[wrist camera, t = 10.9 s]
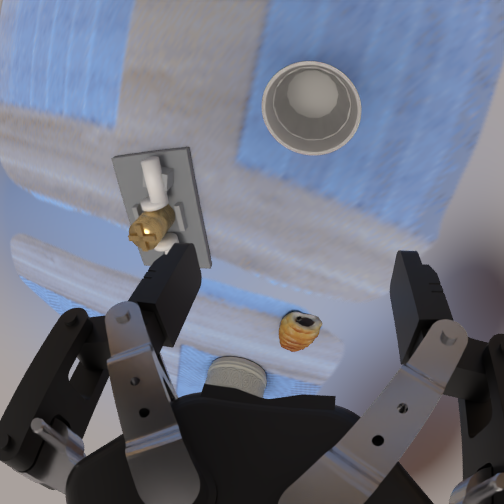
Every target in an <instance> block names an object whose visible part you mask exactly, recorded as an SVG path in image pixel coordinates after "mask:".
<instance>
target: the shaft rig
mask: <svg viewBox="0 0 504 504" xmlns="http://www.w3.org/2000/svg"><path fill="white" fill-rule="evenodd" d="M112 162H113V166H114V170H115V173H116V177H117V181H118V184H119V188H120V191H121V195H122V198H123V202H124V205H125V208H126V212H127V215H128V218H129V221H130V224H131V225H132V224H133V223H134V222H135V220H136V219H137V218H138V217H139V216H140V215H141V214H142V213H143V212H144V211H147V212H149V211H156V210H159V209H161V208H163V207H165V206H166V205H167V204H169V205H170V206H171V207H172V208H173V210H174V212H175V221H174V223H173V224H172V226H171V227H170V228H169V230H168V231H167V233H166V234H165V235H164V237H163V238H162V239H161V241H160V242H159V243H158V245H157V246H156V247H155V248H154V249H152V250H149V251H148V252H146V251H142V249H141V248H139V247H138V249H139V252H140V255H141V257H142V260H143V263H144V265H146V266H151V265H152V264H153V262H154V261H155V260H156V259H158V258H159V257H160V256H162V255H163V254H167V253H168V252H169V250H170V249H171V247H172V246H173V244H174V243H193V244H194V246H195V249H196V253H197V258H198V262H199V266H200V268H209V269H210V268H211V266H212V261H211V256H210V252H209V247H208V242H207V237H206V232H205V228H204V223H203V218H202V213H201V208H200V202H199V197H198V192H197V187H196V182H195V176H194V171H193V166H192V160H191V154H190V149H189V147H185V148H175V149H166V150H158V151H150V152H142V153H135V154H128V155H121V156H115V157H114V158H112Z"/></svg>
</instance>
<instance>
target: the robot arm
mask: <svg viewBox="0 0 504 504" xmlns="http://www.w3.org/2000/svg"><path fill="white" fill-rule="evenodd" d="M201 278H202V277H201V270H200V266H199V262H198V258H197V253H196V249H195V246H194V244H193V243H174V244H173V246H172V247H171V249H170V250H169V252H168V253H167V254H163V255H162V256H160V257H159V258H158V259H156V260H155V261H154V262H153V264H152V265H151V267H150V268H149V270H148V272H147V273H146V274H145V276H144V279H142V280H141V282H140V283H139V285H138V286H137V288H136V289H135V291H134V292H133V294H132V296H131V297H130V299H129V300H128V301H126V302H121V303H118V304H116V305H114V306H113V307H112V308H111V309H109V311H108V312H107V314H106V316H98V317H90V318H89V316H88V314H87V312H86V311H85V310H84V309H82V308H73V309H70V310H68V311H66V312H65V313H64V314H62V315H61V317H60V318H59V319H58V321H57V323H56V324H55V326H54V327H53V329H52V330H51V332H50V334H49V335H48V336H47V338H46V340H45V341H44V343H43V345H42V346H41V348H40V350H39V351H38V353H37V354H36V356H35V358H34V359H33V361H32V363H31V364H30V366H29V368H28V370H27V371H26V373H25V375H24V377H23V378H22V380H21V382H20V384H19V386H18V388H17V390H16V391H15V393H14V395H13V397H12V399H11V401H10V403H9V405H8V406H7V409H6V410H5V412H4V415H3V416H2V418H1V420H0V461H2V462H4V463H5V464H7V465H8V466H10V467H12V469H13V470H15V471H16V472H18V473H20V474H21V475H23V476H25V477H26V478H28V479H30V480H32V481H34V482H36V483H39V484H41V485H43V486H45V487H47V488H48V489H51V490H58V491H60V492H62V493H64V494H66V502H67V504H433V502H432V501H431V500H430V499H429V498H428V496H427V495H426V494H425V493H424V492H423V491H422V489H421V488H420V487H419V486H418V485H417V483H416V482H415V481H414V480H413V478H412V477H411V476H410V475H409V474H408V472H407V471H406V470H405V469H404V468H403V466H402V465H401V464H400V463H399V462H398V460H399V459H400V458H401V456H402V455H403V453H404V452H405V451H406V450H407V448H408V447H409V445H410V444H411V442H412V441H413V440H414V438H415V437H416V435H417V434H418V432H419V431H420V429H421V428H422V426H423V425H424V423H425V422H426V420H427V419H428V417H429V415H430V414H431V412H432V411H433V409H434V407H435V406H436V404H437V402H438V401H439V399H440V397H441V396H442V394H444V395H448V396H452V397H457V398H458V402H459V412H460V423H461V436H462V454H463V455H462V456H463V481H462V482H460V483H459V484H458V485H457V486H456V487H455V488H454V490H453V492H452V493H451V496H450V500H449V504H504V334H497V335H494V336H493V337H492V338H491V339H490V341H489V343H487V342H483V341H479V340H475V339H472V338H469V337H468V336H467V333H466V331H465V329H464V328H463V327H462V326H461V325H460V324H459V323H457V322H455V321H453V318H452V315H451V312H450V309H449V306H448V303H447V300H446V297H445V294H444V293H443V289H442V286H441V285H440V281H439V278H438V275H437V273H436V272H435V271H434V270H433V269H432V268H431V267H430V266H429V265H422V263H421V260H420V257H419V255H418V252H417V251H398V252H397V255H396V260H395V265H394V269H393V274H392V279H391V284H390V299H391V304H392V309H393V315H394V320H395V327H396V333H397V339H398V347H399V354H400V361H401V364H403V365H402V367H401V368H400V369H399V370H398V372H397V373H396V374H395V376H394V377H393V378H392V380H391V381H390V382H389V384H388V385H387V386H386V388H385V389H384V390H383V391H382V393H381V394H380V395H379V397H378V398H377V399H376V400H375V401H374V402H373V404H372V405H371V406H370V407H369V408H368V410H367V411H366V412H365V413H364V414H363V416H362V417H359V416H358V415H357V414H355V413H354V412H352V411H350V410H348V409H345V408H343V407H340V406H337V405H335V396H320V395H296V396H289V397H282V398H275V399H264V398H261V397H258V396H256V395H253V394H250V393H247V392H244V391H242V390H239V389H236V388H231V387H224V386H217V385H210V384H204V387H203V390H202V392H199V393H193V394H188V395H185V396H182V397H180V398H178V396H177V394H176V392H175V389H174V387H173V384H172V382H171V379H170V377H169V374H168V371H167V369H166V366H165V363H164V361H163V358H162V355H161V353H160V351H161V348H162V346H167V347H174V344H175V342H176V340H177V338H178V335H179V333H180V331H181V329H182V326H183V324H184V322H185V320H186V317H187V315H188V313H189V311H190V309H191V306H192V304H193V302H194V300H195V298H196V295H197V293H198V291H199V289H200V286H201ZM76 357H77V358H78V359H79V360H80V362H79V364H78V365H77V367H76V370H75V371H74V373H73V375H72V377H71V379H70V381H69V379H68V374H69V371H70V369H71V367H72V365H73V363H74V361H75V359H76ZM109 376H110V381H111V386H112V390H113V395H114V399H115V404H116V408H117V412H118V416H119V420H120V424H121V428H122V431H123V434H122V435H120V436H119V437H117V438H115V439H114V440H112V441H111V442H109V443H108V444H106V445H104V446H103V447H101V448H99V449H98V450H96V451H95V452H93V453H91V454H90V455H88V456H86V455H85V453H84V443H83V441H82V438H83V436H84V434H85V431H86V429H87V426H88V424H89V421H90V419H91V417H92V414H93V412H94V409H95V407H96V405H97V402H98V400H99V398H100V396H101V393H102V391H103V389H104V386H105V384H106V382H107V380H108V378H109Z"/></svg>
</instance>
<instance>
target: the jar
mask: <svg viewBox="0 0 504 504" xmlns="http://www.w3.org/2000/svg"><path fill="white" fill-rule="evenodd" d="M266 383H267V380H266V373H265V371H264V370H263V369H262V368H261V367H260V366H258V365H257V364H255V363H253V362H251V361H249V360H246V359H243V358H238V357H222V358H218V359H216V360H215V361H213V363H212V364H211V366H210V367H209V370H208V373H207V378H206V381H205V384H210V385H217V386H224V387H231V388H236V389H239V390H242V391H244V392H247V393H250V394H253V395H256V396H258V397H261V398H263V394H264V390H265V388H266Z"/></svg>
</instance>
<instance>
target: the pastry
mask: <svg viewBox="0 0 504 504" xmlns="http://www.w3.org/2000/svg"><path fill="white" fill-rule="evenodd" d="M321 326H322V322H321V320H320V319H319V317H317V316H314V315H309V314H302V313H300V312H291V313H289V314H287V315H286V316H285V317H284V318H283V319H282V321H281V325H280V328H279V339H280V344H281V347H283V348H285V349H287V350H290V351H291V352H295V351H299V350H301V349H302V350H303V349H304V348H305V347H308V346H309V345H310V344H311V343H312V342H313V341H314V339H315V338H316V337H317V336H318V335H319V330H320V327H321Z"/></svg>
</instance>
